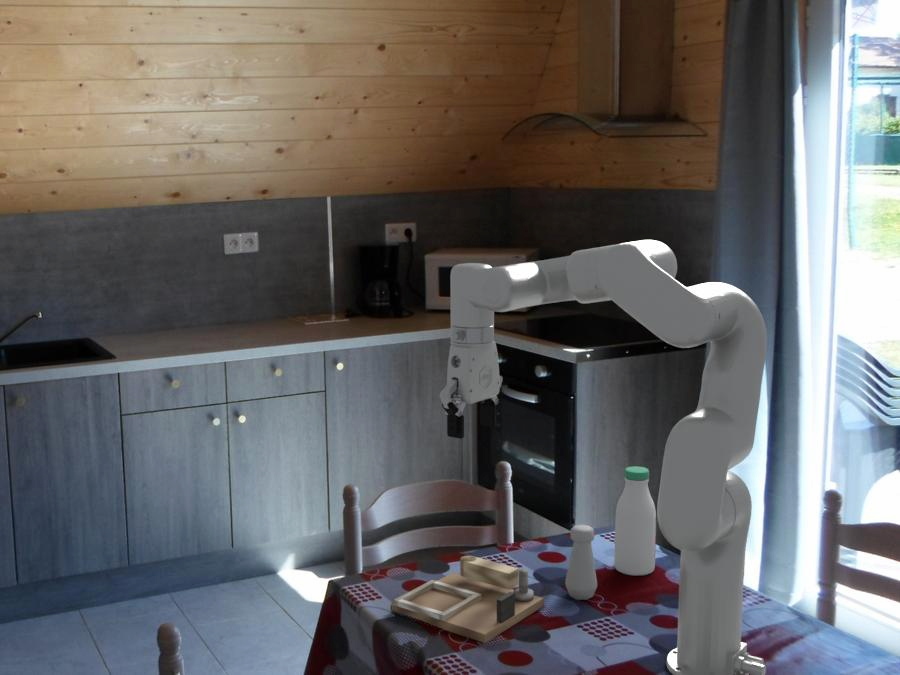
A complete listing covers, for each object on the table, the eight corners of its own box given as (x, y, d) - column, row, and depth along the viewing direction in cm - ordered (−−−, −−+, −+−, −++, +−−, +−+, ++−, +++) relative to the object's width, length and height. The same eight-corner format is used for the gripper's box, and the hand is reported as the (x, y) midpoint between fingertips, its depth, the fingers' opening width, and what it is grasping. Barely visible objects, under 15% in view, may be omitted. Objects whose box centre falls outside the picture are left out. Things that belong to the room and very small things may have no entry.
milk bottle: (654, 578, 200) (657, 476, 197) (613, 575, 202) (615, 473, 199) (655, 563, 208) (657, 464, 205) (615, 560, 209) (617, 462, 206)
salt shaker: (562, 599, 191) (563, 530, 189) (568, 587, 196) (569, 520, 194) (594, 603, 189) (595, 533, 187) (599, 591, 195) (601, 523, 192)
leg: (518, 584, 190) (518, 568, 190) (509, 589, 188) (509, 573, 187) (466, 569, 197) (466, 554, 197) (457, 574, 195) (456, 559, 194)
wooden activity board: (543, 606, 188) (544, 571, 187) (485, 642, 174) (485, 605, 173) (453, 579, 200) (453, 547, 199) (391, 612, 186) (391, 577, 185)
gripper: (460, 344, 174) (460, 445, 177) (517, 330, 188) (517, 424, 191) (424, 339, 179) (424, 438, 182) (483, 326, 192) (482, 418, 195)
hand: (472, 431), depth 186 cm, fingers open, 9 cm apart
